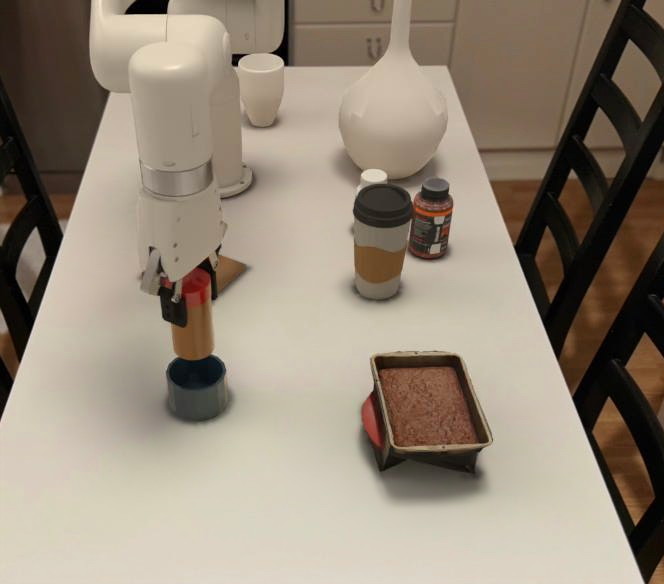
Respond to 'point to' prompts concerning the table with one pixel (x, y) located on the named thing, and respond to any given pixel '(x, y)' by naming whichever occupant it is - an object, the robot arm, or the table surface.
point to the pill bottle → (371, 179)
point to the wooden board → (226, 271)
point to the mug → (261, 86)
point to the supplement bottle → (431, 219)
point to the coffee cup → (380, 238)
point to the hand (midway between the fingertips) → (190, 307)
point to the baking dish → (424, 411)
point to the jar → (195, 317)
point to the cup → (197, 387)
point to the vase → (393, 109)
